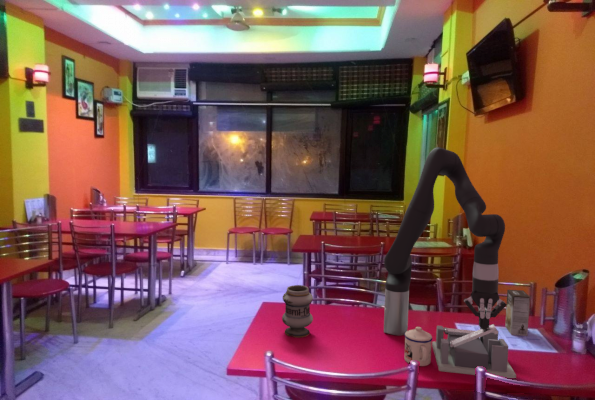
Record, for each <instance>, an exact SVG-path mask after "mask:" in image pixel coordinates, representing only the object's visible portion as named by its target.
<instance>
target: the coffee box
mask: <svg viewBox="0 0 595 400" xmlns="http://www.w3.org/2000/svg"><path fill="white" fill-rule="evenodd" d="M506 291H507V293H506V306H505V324H504V325H505V326H504V327H505V329H507V331H508V332H509V334H510V335H512V336H522V337H528V332H529V315H530V303H531V296H530V295H528V294H527V293H526V292H525V291H524V290H520V289H519V290H518V289H506Z"/></svg>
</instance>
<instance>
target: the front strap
mask: <svg viewBox="0 0 595 400" xmlns="http://www.w3.org/2000/svg"><path fill="white" fill-rule="evenodd" d="M497 330H498V328H497V327H496V326H495V324H494V323H493V324H489V328H487V330H482V329H480V328H479V329H478V330H474V331H475V332H472V333H470V334H467V335H465V336H462V337H460V338H457V339H455V340H452V341H449V342H448V343H449V346H450V348H451V349H453V348H454V347H456V346H459V345H461V344H464V343H466V342H469V341H472V340H474V339H477V338H480V337H482V336H484V335H487V334H489V333H492V332H494V334H498V335H499V330H498V331H497Z"/></svg>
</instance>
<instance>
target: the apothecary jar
mask: <svg viewBox="0 0 595 400" xmlns="http://www.w3.org/2000/svg"><path fill="white" fill-rule="evenodd" d="M309 290H310V289H309V287H308V286H306V285H303V284H297V285H296V284H294V285H289V286H287V288H286V291H285V292H284V293H283V295H282V301H283V302H284V304H285V312H284V313H283V314H282V317H281V320H282V321H281V322H282V323H283V324H284V325H286V326H287V328H285V330H284V334H285V335H286V336H288V337H292V338H304V337H308V336H309V335H310V330H309V328H306V327H308V326H310V325H311V324H312V323H313V321H314V317H313V315H312V314H311V311H310V309H311V308H310V304H311V303H312V302H313V300H314V297H313V295H312V294H311V292H309Z"/></svg>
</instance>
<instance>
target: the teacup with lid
mask: <svg viewBox="0 0 595 400" xmlns="http://www.w3.org/2000/svg"><path fill="white" fill-rule="evenodd" d="M432 340H433V336H432V334H431V333H429V332H427V331H425V330H423V328H422V327H420V326H416V327H415V328H413V329H407V331H406V333H405V335H404V361H405V362H406V363H407V364H409V362H410V361H411V360H417V361H419V362H420V366H419V367H426V366H429V365H430V364H431V362H432V361H431V359H432Z"/></svg>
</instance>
